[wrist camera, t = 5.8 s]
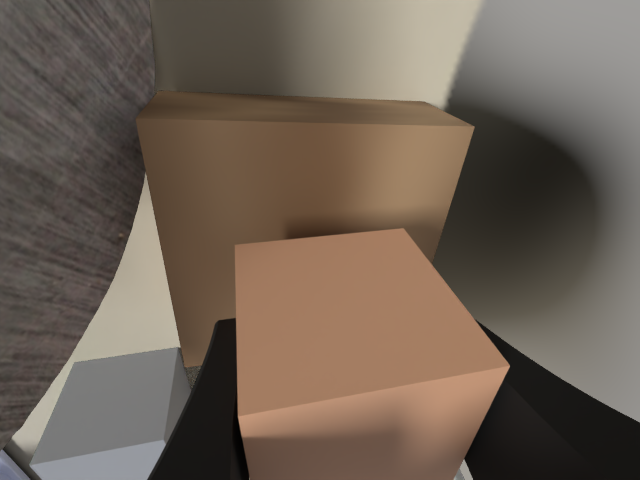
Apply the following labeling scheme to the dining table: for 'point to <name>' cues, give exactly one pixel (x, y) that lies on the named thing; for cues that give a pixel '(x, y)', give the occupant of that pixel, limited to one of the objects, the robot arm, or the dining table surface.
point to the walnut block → (285, 183)
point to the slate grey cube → (113, 417)
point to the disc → (64, 177)
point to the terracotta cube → (356, 361)
